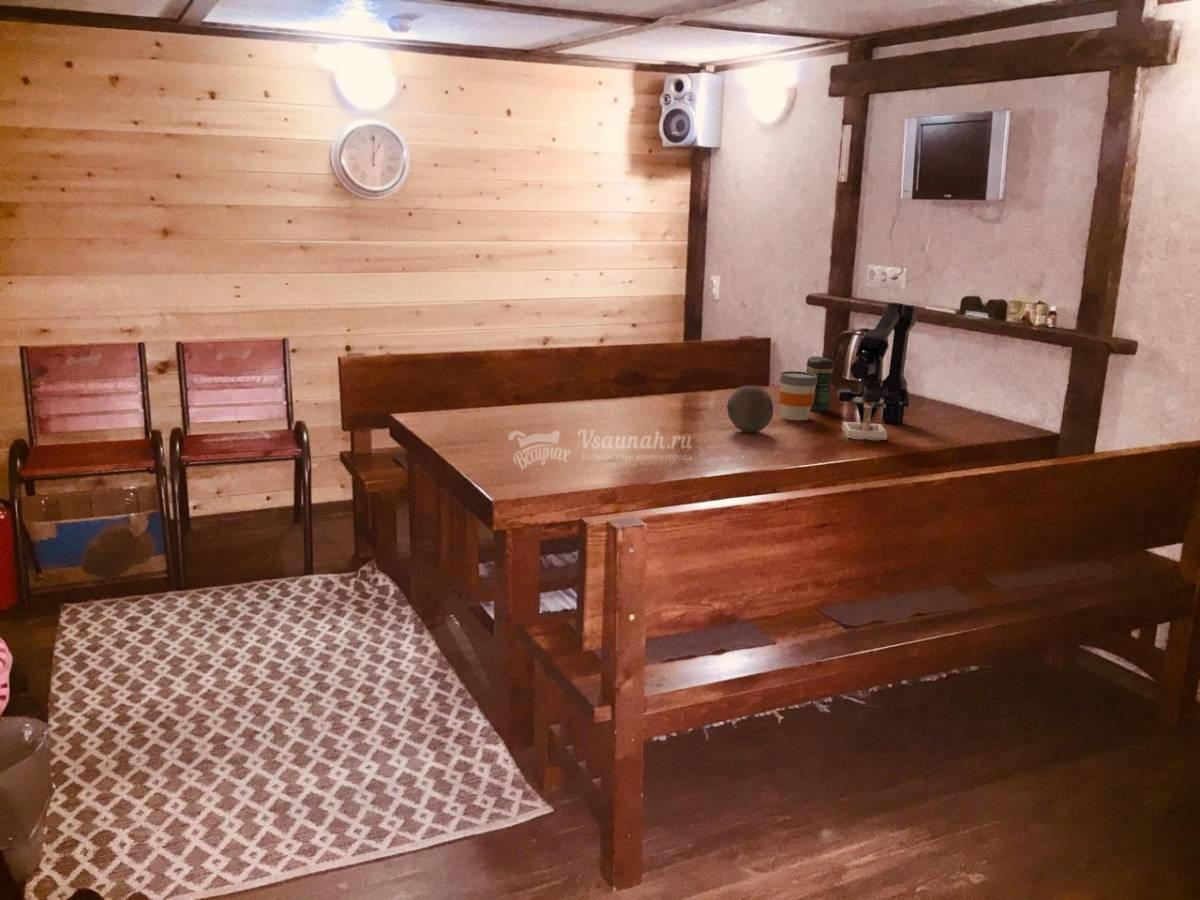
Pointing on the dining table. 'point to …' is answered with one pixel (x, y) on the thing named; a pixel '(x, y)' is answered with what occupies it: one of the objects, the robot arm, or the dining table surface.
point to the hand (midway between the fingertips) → (865, 423)
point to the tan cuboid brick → (866, 418)
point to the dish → (854, 431)
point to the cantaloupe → (750, 408)
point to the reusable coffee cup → (796, 394)
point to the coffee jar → (821, 381)
